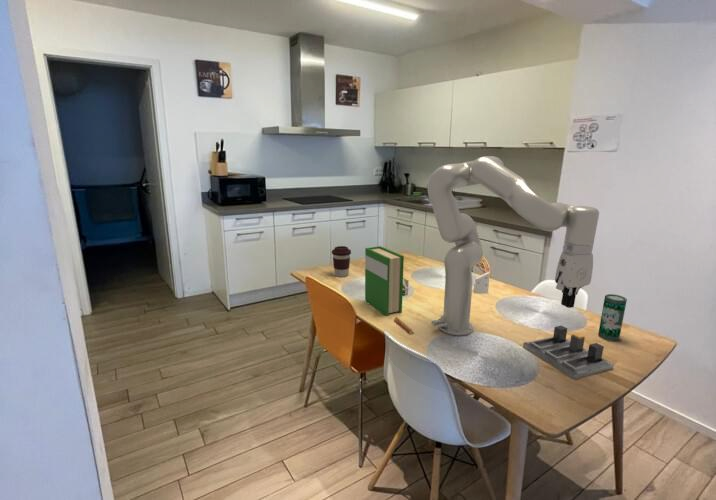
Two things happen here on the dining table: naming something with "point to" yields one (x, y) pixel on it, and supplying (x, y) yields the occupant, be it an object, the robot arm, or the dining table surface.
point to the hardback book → (384, 279)
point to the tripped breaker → (576, 342)
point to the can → (612, 317)
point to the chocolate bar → (403, 326)
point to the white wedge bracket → (482, 283)
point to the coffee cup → (341, 261)
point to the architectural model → (405, 286)
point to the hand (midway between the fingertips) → (567, 305)
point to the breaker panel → (569, 355)
